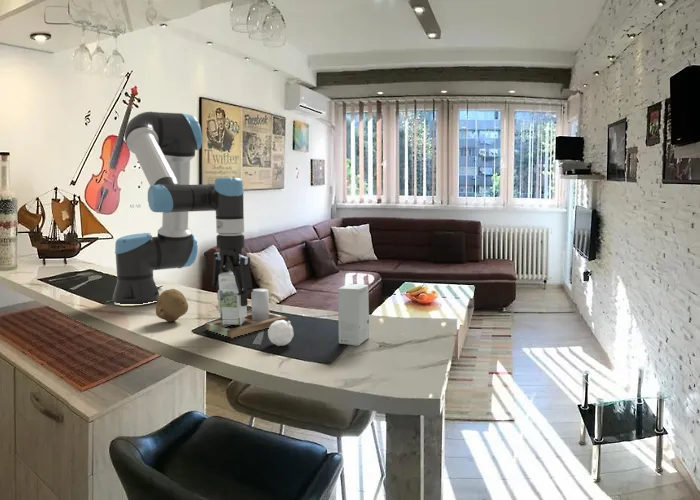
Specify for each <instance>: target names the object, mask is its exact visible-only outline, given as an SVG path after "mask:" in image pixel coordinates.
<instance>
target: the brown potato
mask: <svg viewBox="0 0 700 500" xmlns="http://www.w3.org/2000/svg"><path fill="white" fill-rule="evenodd" d="M155 305H156V306H155V314H156V316H157V318H159V319H161V320H163V321H166V322H168V323H173V322H172V321H174V322H175V321H177V320H179V318H181V317H183V316H184V315H186V313H187V312H188V311H189V303H188V301H187V299H186V297H185V295H184V294H183V293H182V292H181V291H180V290H178V289H176V288H170V289H166V290H164V291H161V293H160V294H159V298H158V300H157V302H156V304H155Z"/></svg>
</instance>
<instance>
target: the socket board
mask: <svg viewBox="0 0 700 500" xmlns="http://www.w3.org/2000/svg"><path fill="white" fill-rule="evenodd" d="M278 320H285V321H286V322H288V317H287V316H284V315H280V314H276V313H273V312H272V313H271V312H269V319H268V320H264V321H260V322H257V321H254V320H252V312H247V317H245V321H244V322H243V323H242V324H241V325H242V326H237V327H233V328H229V327H227V328H224V327H225V326H228V325H221V319H220V320H219V319H218V320H215V321H210V322H206V323H205V330H206V329H207V330H209V331H212V332H215V333H214V334H216V333H218V334H217V335H219V334H221V335H220V336H222V335H224V336H223V337H225V336H228V337H231V338H230V339H235V338H234V337H236V338H238V337H237V336H240V335H243V336H245V335H244V334H247V335H249V334H248V333H251V332H254V331H258V330H261V329H265V328H269V327H270V326H271V324H272V323H274V322H275V321H278ZM265 330H266V329H265ZM209 331H208V332H209ZM212 332H211V333H212ZM258 332H259V331H258ZM254 333H255V332H254ZM251 334H252V333H251ZM228 337H227V338H228ZM240 337H241V336H240Z"/></svg>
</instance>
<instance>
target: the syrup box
mask: <svg viewBox="0 0 700 500" xmlns="http://www.w3.org/2000/svg"><path fill="white" fill-rule="evenodd" d="M242 290H243V289H242ZM238 293H239V291H238V288H237V284H236V281H235V276H234V274H233V272H232V271H229V272H222V273H220V274H219V297H220V313H219V314H220V315H219V316H220V317H219V318H220V320H221V325H235V326H237V325H241V324H242V323H243V322H244V321H245V317H242V318H238V317H237V294H238Z"/></svg>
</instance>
